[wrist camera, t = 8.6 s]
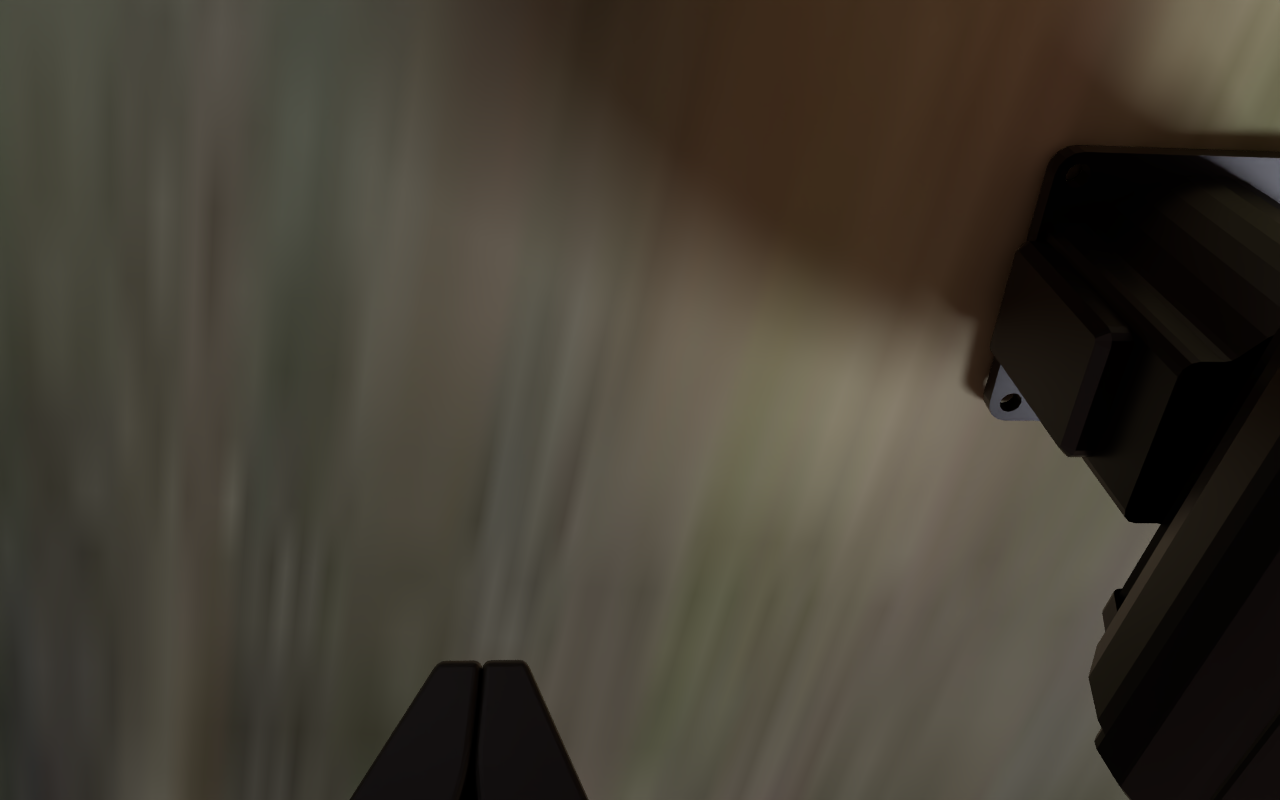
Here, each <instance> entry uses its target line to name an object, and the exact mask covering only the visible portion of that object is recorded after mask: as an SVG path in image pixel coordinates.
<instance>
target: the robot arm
mask: <svg viewBox="0 0 1280 800" xmlns="http://www.w3.org/2000/svg"><path fill="white" fill-rule="evenodd" d="M1081 163H1082V170H1081V172H1080V174H1079V175H1078V176H1077V177H1075V178H1074V179H1072V180H1067V181H1066V174H1067V173H1068V171H1069V169H1070V168H1072V167H1073V166H1074V165H1077V164H1081ZM990 350H991V352H992V353H993V354H994V359H993V362H992V366H991V369H990V373H989V377H988V380H987V384H986V387H985V391H984V402H985V404H986V406H987V408H988V409H989V411H990V412H991V414H992V415H993V416H994V417H996V418H997V419H1000V420H1010V421H1040V422H1041V423H1042V424H1043V426H1044V427H1045V429H1046V430H1047V432H1048V433H1049V434H1050V436H1051V437H1052V439H1053V440H1054V442H1055V443H1056V444H1057V446H1058V447H1059V448H1060V449H1061V451H1062V452H1063V453H1064V454H1065V455H1066V456H1068V457H1082V458H1083V460H1084V461H1085V463H1086V464H1087V465H1088V467H1089V468H1090V469H1091V471H1092V472H1093V474H1094V475H1095V476H1096V478H1097V479H1098V481H1099V482H1100V483H1101V485H1102V486H1103V487H1104V489H1105V490H1106V492H1107V493H1108V494H1109V496H1110V497H1111V499H1112V500H1113V501H1114V503H1115V504H1116V505H1117V507H1118V508H1119V510H1120V511H1121V512H1122V514H1123V515H1124V517H1125V518H1126V519H1127V520H1128V521H1129V522H1133V523H1158V524H1161V525H1160V526H1159V528H1158V530H1157V532H1156V533H1155V535H1154V537H1153V538H1152V540H1151V542H1150V543H1149V545H1148V547H1147V548H1146V550H1145V552H1144V553H1143V555H1142V557H1141V558H1140V560H1139V562H1138V563H1137V565H1136V567H1135V568H1134V570H1133V572H1132V573H1131V575H1130V577H1129V578H1128V580H1127V582H1126V583H1125V585H1124V587H1123V588H1122V589H1116V590H1115V591H1114V592H1113V594H1112V596H1111V597H1110V599H1109V601H1108V602H1107V604H1106V606H1105V607H1104V609H1103V613H1102V614H1103V620H1104V626H1105V633H1104V635H1103V637H1102V638H1101V640H1100V641H1099V643H1098V645H1097V648H1096V651H1095V655H1094V659H1093V662H1092V666H1091V670H1090V674H1089V682H1090V686H1091V691H1092V695H1093V700H1094V704H1095V709H1096V714H1097V718H1098V721H1099V723H1100V725H1101V729H1100V731H1099V732H1098V734H1097V736H1096V738H1095V745H1096V749H1097V751H1098V752H1099V754H1100V755H1101V757H1102V759H1103V760H1104V762H1105V764H1106V765H1107V767H1108V768H1109V770H1110V772H1111V773H1112V775H1113V777H1114V778H1115V780H1116V781H1117V783H1118V785H1119V786H1120V787H1121V789H1122V790H1123V792H1124V793H1125V795H1126V796H1127V797H1128V798H1129V799H1130V800H1280V152H1268V151H1238V150H1208V149H1178V148H1148V147H1118V146H1088V145H1075V146H1068V147H1066V148H1064V149H1062V150H1060V151H1058V152H1057V153H1056V154H1055V156H1054V157H1053V158H1052V159H1051V160H1050V162H1049V164H1048V167H1047V169H1046V173H1045V176H1044V180H1043V183H1042V187H1041V191H1040V194H1039V198H1038V201H1037V205H1036V208H1035V212H1034V216H1033V219H1032V223H1031V226H1030V230H1029V233H1028V237H1027V241H1026V242H1025V243H1024V244H1023V245H1022V246H1021V247H1020V248H1019V249H1018V250H1017V251H1016V253H1015V256H1014V260H1013V264H1012V267H1011V271H1010V275H1009V278H1008V282H1007V285H1006V289H1005V293H1004V296H1003V300H1002V304H1001V307H1000V311H999V315H998V318H997V322H996V325H995V329H994V333H993V336H992V340H991V344H990ZM1012 393H1015V394H1014V396H1013V398H1012V399H1010V400H1009V401H1007V402H1002V403H1001V402H1000V401H1001V400H1002V398H1003V397H1005V396H1006V395H1007V394H1012ZM350 800H588V797H587V795H586V793H585V791H584V789H583V786H582V784H581V782H580V780H579V777H578V775H577V773H576V771H575V768H574V766H573V764H572V762H571V759H570V757H569V755H568V753H567V750H566V748H565V746H564V744H563V741H562V739H561V737H560V735H559V732H558V730H557V728H556V726H555V724H554V721H553V719H552V717H551V715H550V712H549V710H548V708H547V706H546V703H545V701H544V699H543V697H542V694H541V692H540V690H539V688H538V685H537V683H536V681H535V679H534V676H533V674H532V672H531V670H530V668H529V666H528V665H527V663H526V662H524V661H523V660H491V661H487V662H486V663H485V664H484V665H483V669H482V666H481V664H480V663H479V662H477V661H442V662H440V663H439V664H437V665H436V666H435V668H434V669H433V670H432V672H431V673H430V675H429V677H428V678H427V680H426V681H425V683H424V684H423V686H422V688H421V689H420V691H419V692H418V694H417V695H416V697H415V698H414V700H413V702H412V703H411V705H410V706H409V708H408V709H407V711H406V713H405V714H404V716H403V717H402V719H401V720H400V722H399V723H398V725H397V727H396V728H395V730H394V731H393V733H392V734H391V736H390V738H389V739H388V741H387V742H386V744H385V745H384V747H383V748H382V750H381V752H380V753H379V755H378V756H377V758H376V759H375V761H374V762H373V764H372V766H371V767H370V769H369V770H368V772H367V773H366V775H365V777H364V778H363V780H362V781H361V783H360V784H359V786H358V787H357V789H356V791H355V792H354V794H353V795H352V797H351V798H350Z"/></svg>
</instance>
